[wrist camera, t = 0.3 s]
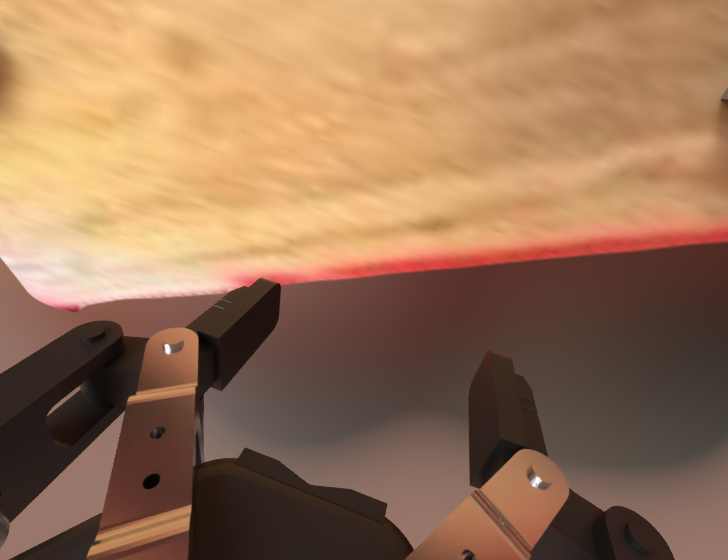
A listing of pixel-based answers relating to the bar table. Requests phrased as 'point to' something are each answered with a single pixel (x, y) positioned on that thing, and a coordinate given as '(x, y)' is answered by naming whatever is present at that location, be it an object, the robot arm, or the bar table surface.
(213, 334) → the robot arm
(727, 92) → the grey hollow block
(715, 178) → the bar table surface
